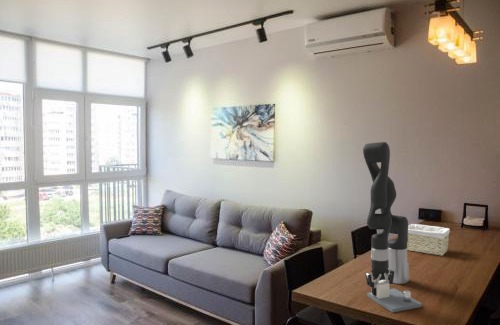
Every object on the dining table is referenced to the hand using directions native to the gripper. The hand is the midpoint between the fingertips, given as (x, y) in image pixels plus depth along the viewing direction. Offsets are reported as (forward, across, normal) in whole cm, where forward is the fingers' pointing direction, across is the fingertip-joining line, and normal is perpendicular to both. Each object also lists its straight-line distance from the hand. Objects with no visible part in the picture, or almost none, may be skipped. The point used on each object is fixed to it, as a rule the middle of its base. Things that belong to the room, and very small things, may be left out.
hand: (380, 294), depth 174 cm
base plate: (+2, -4, +4) cm, 6 cm away
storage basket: (+2, -71, -50) cm, 87 cm away
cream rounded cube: (+1, 0, 0) cm, 1 cm away
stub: (+1, -7, +9) cm, 11 cm away
